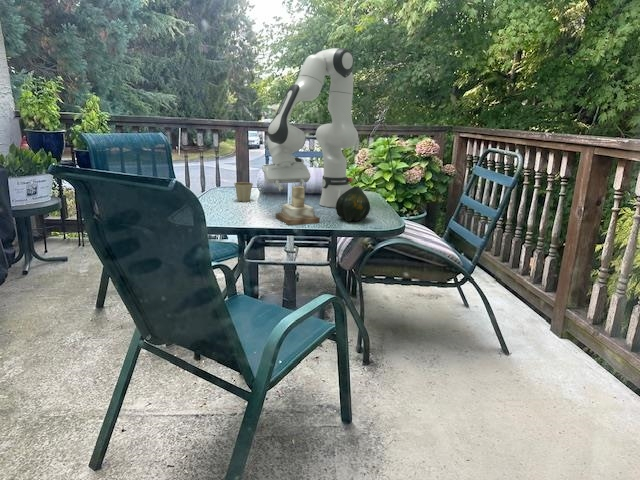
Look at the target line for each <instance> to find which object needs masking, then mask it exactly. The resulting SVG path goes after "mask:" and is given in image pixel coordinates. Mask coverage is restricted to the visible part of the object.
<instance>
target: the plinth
mask: <svg viewBox="0 0 640 480" xmlns="http://www.w3.org/2000/svg"><path fill="white" fill-rule="evenodd" d="M314 212H315V211H314V207H313V206H310V205H308V204H306V203H304V207H293V206H292V203H287V204H281V212H276V213H275V218H276V220H278V221H280V222H282V223H283V222H284V223H283V224H285V223H286V224H285V225H287V226H294V225H296V226H297V225H308V224H309V225H310V224H319V223H321V222H320V221H321V219H320V217H318V216H316V215H314Z"/></svg>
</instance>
